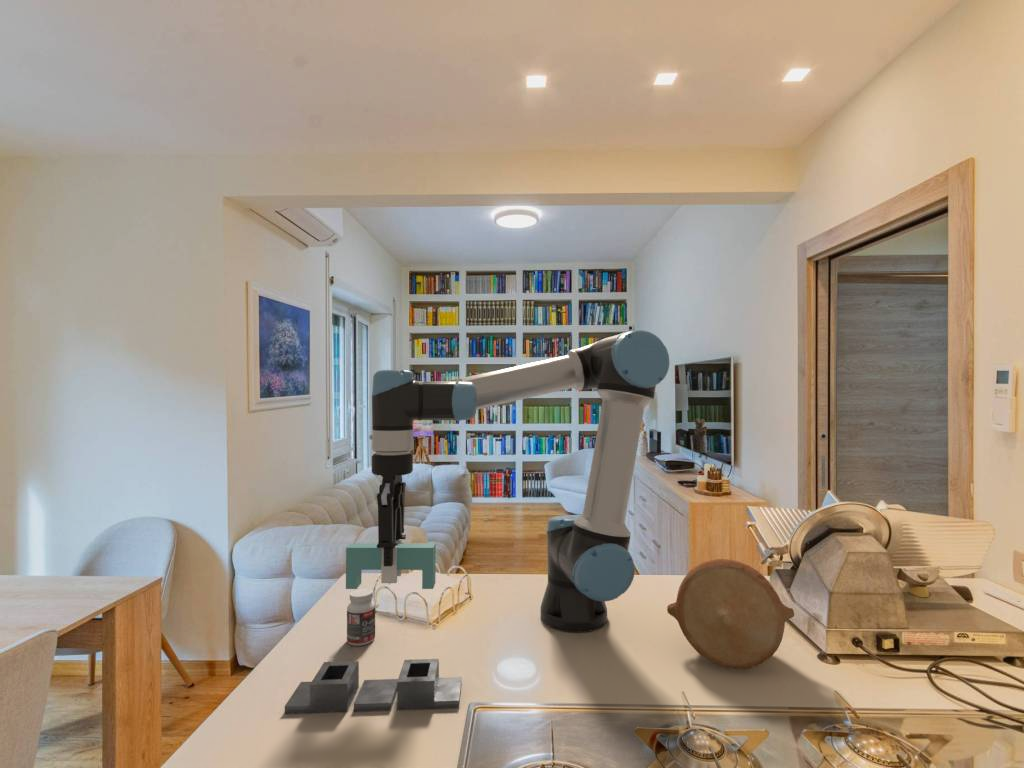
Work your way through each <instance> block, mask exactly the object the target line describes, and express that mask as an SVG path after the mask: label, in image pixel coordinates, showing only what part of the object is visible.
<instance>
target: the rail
mask: <svg viewBox="0 0 1024 768" xmlns="http://www.w3.org/2000/svg"><path fill="white" fill-rule="evenodd" d="M439 662H440V660H439V658H428V659H427V658H421V659H404V661H403V663H402V667H401V669H400V673H399V676H398V678H389V679H388V678H385V679H364V680H363V683H362V685H361V687H360V684H359V681H360V680H359V679H360V678H359V677H360V674H359V671H360V670H359V668H360V667H359V660H355V661H354V660H352V661H350V660H349V661H324V662H323V663H322V665H321V666H320V668H319V670H318V671H317V673H316V674H315V676H313V677H314V678H313V679H312V681H300V682H299V684H298V686H297V687H296V689H295V690H294V692H293V693H292V695H291V696H290V698H289V699H288V700H287V702H286V703H285V705H284V714H285V715H286V714H287V715H289V714H291V715H292V714H314V713H315V714H316V713H317V714H318V713H320V714H321V713H347V712H348V711H349V709H350V707H351V704H352V703H353V712H377V711H378V712H379V711H380V712H381V711H392V709H393V705H394V702H395V699H396V701H397V702H396V707H397V708H396V710H397V711H408V710H410V711H411V710H413V711H414V710H438V709H440V710H441V709H460V703H461V702H460V701H461V693H462V692H461V691H462V684H463V683H462V681H463V680H462V676H453V677H452V676H451V677H447V676H446V677H440V670H439V669H440V663H439ZM359 687H360V688H359ZM358 689H359V691H358ZM356 694H357V696H356ZM355 696H356V698H355ZM354 699H355V700H354ZM353 700H354V702H353Z"/></svg>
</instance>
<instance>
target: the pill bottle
mask: <svg viewBox="0 0 1024 768" xmlns="http://www.w3.org/2000/svg"><path fill="white" fill-rule="evenodd" d="M373 598H374V591H373V590H372V589H371V588H366V587H365V588H364V587H363V588H359V589H358V588H357V589H353V590H352V591H350V593H349V601H350V602H349V604H348V605H347V607H346V641H347V643H348V644H349V645H350V646H352V647H353V646H355V647H359V646H366V645H368V644H370V643H372V642H374V640H375V638H376V602H375V601H374V600H373Z"/></svg>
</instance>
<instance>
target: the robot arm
mask: <svg viewBox="0 0 1024 768" xmlns="http://www.w3.org/2000/svg"><path fill="white" fill-rule="evenodd" d="M669 369H670V354H669V351H668V349H667V346H666V345H665V344H664V342H663V341H662V339H660V338H659V337H658V336H657V335H656V334H654V333H653V332H650V331H648V330H642V329H637V330H627V331H623V332H622V333H619V334H615V335H613V336H607V337H605V338H603V339H600V340H598V341H595V342H593V343H590V344H588V345H585V346H582V347H578V348H574V349H569V350H568V351H567V353H566V355H562V356H558V357H553V358H548V359H545V360H539V361H533V362H529V363H525V364H520V365H515V366H512V367H506V368H502V369H498V370H494V371H488V372H484V373H479V374H475V375H470V376H466V377H461V378H457V379H451V380H447V381H445V380H444V381H443V380H442V381H441V380H439V381H421V380H420V381H419V380H415V377H414V373H413V371H411V370H405V369H404V370H400V369H382V370H377V371H376V372H375V373H374V374H373V377H372V389H371V390H372V393H371V414H372V415H371V425H372V426H371V428H372V429H371V430H372V431H371V434H370V435H369V437H368V438H369V440H372V441H371V444H372V445H371V450H372V452H375V453H373V454H372V455H371V473H372V475H375V476H380V477H382V481H381V484H379V486H378V487H379V491H378V493H376V501H377V503H376V504H377V523H378V524H377V530H378V531H377V532H378V534H377V535H378V538H377V539H378V542H377V543H378V544H377V548H382V563H381V570H380V571H381V573H380V574H381V575H380V576H381V577H380V578H381V584H397V582H398V577H401V576H402V570H397V546H396V543H403V542H402V540H406V538H407V534H404V532H405V501H406V500H405V499H406V498H405V497H406V496H405V495H406V487H407V485H406V482H405V481H403V476H405V475H409V474H412V472H413V470H414V467H413V466H414V461H413V460H414V455H413V454H412V453H411V451H413V450H414V421H456V422H459V421H470V420H472V419H474V418H475V417H476V414H477V410H481V409H485V408H490V407H495V406H499V405H503V404H508V403H511V402H516V401H522V400H525V399H530V398H533V397H534V398H535V397H538V396H543V395H546V394H547V395H548V394H551V393H556V392H561V391H564V390H565V391H566V390H570V389H574V390H575V391H577V392H579V391H584V390H590V389H596V392H597V393H598V395H599V396H600V398H601V401H602V403H601V407H600V414H599V420H598V425H597V430H596V435H595V443H594V449H593V455H592V461H591V465H590V472H589V477H588V481H587V483H588V484H587V488H586V495H585V500H584V505H583V511H582V514H570V515H569V514H565V515H556V516H553V517H550V518H549V519H548V520H547V529H546V536H547V537H546V539H547V544H546V545H547V549H546V550H547V585H546V588H545V591H544V594H543V598H542V601H541V604H540V619H541V621H542V623H543V624H544V625H546V626H548V627H550V628H552V629H555V630H558V631H563V632H568V633H585V632H591V631H595V630H598V629H600V628H602V627H604V626H605V625H606V624H607V623H608V608H607V604H606V602H610V601H613V600H615V599H618V598H619V597H620V596H622V595H623V594H625V593H626V592H627V591H628V589H630V587H631V585H632V583H633V581H634V577H635V574H636V568H635V563H634V559H633V557H632V555H631V554H630V552H629V547H630V543H631V541H630V540H631V534H632V533H631V531H630V530H629V529H628V527H627V525H626V517H627V511H628V507H629V499H630V493H631V488H632V481H633V476H634V471H635V465H636V458H637V454H638V453H637V451H638V448H639V447H638V446H639V439H640V435H641V429H642V423H643V417H644V411H645V408H646V407H647V406H648V405H649V404H651V403H653V402H654V399H655V392H656V388H657V387H656V386H657V385H658V384H659V385H660V383H661V382H662V381H663V380H664V379H665V378H666V376H667V374H668V372H669Z"/></svg>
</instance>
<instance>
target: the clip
mask: <svg viewBox="0 0 1024 768" xmlns="http://www.w3.org/2000/svg"><path fill="white" fill-rule="evenodd" d="M377 544H378V542H351V543H349V545H347V546H346V548H345V590H357V589H358V588H359V587H360V586H361V585H362V571H368V570H370V571H374V570H375V571H377V570H379V571H381V563H382V548H377ZM436 545H437V543H436V542H432V543H431V542H404V543H403V542H402V543H396V546H397V570H401V571H402V570H403V571H405V570H407V571H410V570H411V571H413V570H415V571H417V570H419V571H420V570H421V573H422V580H421V581H422V582H421V587H422V588H421V589H422V590H433V589H435V588H434V587H435V585H436V567H437V566H436V564H437V563H436V558H437V557H436V554H437V553H436V551H437V550H436V549H437V548H436Z"/></svg>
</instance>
